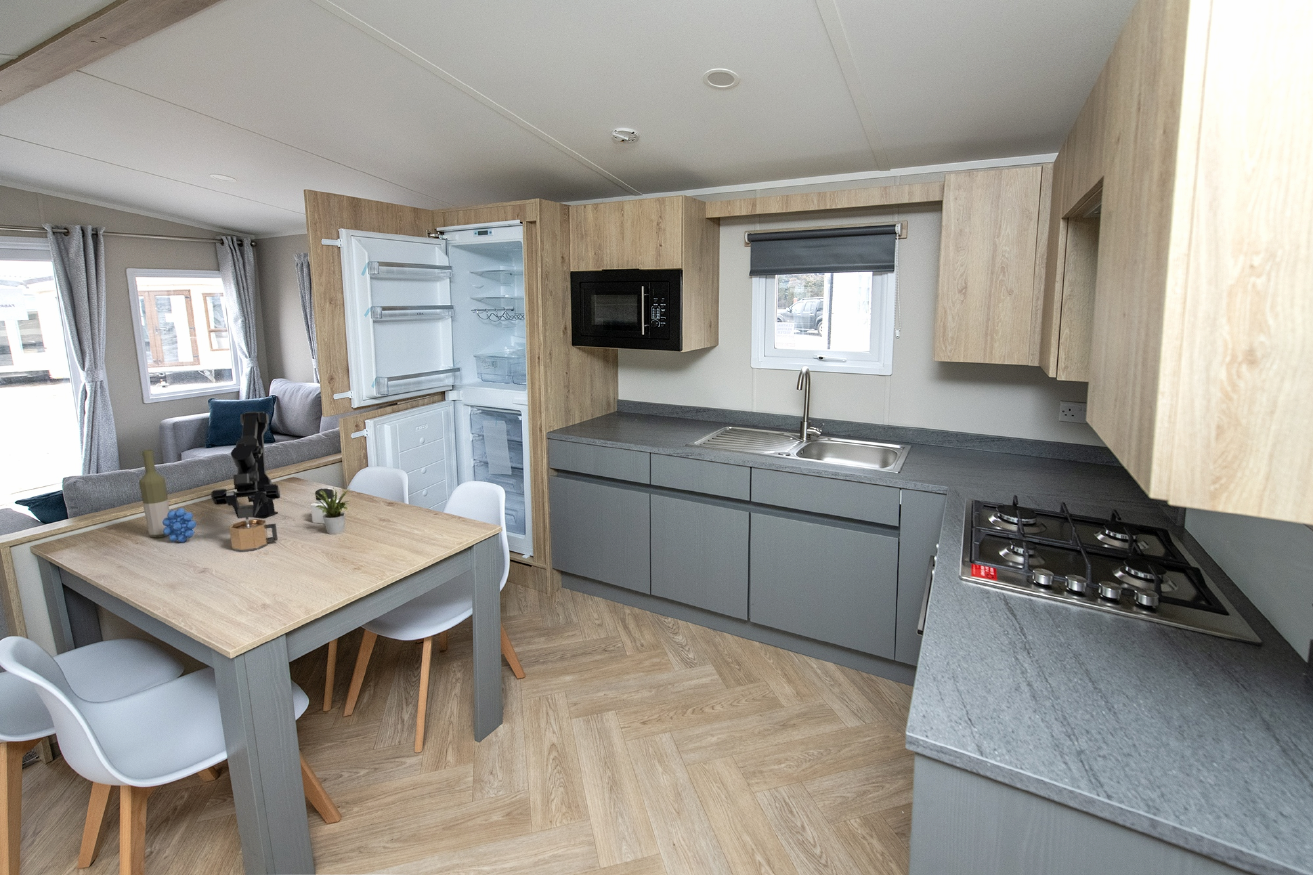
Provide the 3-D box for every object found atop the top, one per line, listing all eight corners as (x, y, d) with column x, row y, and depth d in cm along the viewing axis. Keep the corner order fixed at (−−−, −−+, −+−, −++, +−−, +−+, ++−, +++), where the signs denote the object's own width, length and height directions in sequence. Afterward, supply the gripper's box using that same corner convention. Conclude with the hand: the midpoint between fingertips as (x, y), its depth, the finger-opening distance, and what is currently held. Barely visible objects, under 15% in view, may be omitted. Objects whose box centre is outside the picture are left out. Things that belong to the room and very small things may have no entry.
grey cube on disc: (237, 527, 214) (234, 505, 212) (262, 524, 216) (259, 502, 215) (233, 534, 207) (230, 511, 206) (259, 531, 210) (256, 508, 208)
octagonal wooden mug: (236, 543, 215) (233, 521, 214) (279, 537, 220) (277, 516, 219) (230, 553, 207) (227, 531, 205) (276, 547, 212) (273, 525, 210)
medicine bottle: (329, 524, 234) (326, 492, 231) (312, 523, 235) (308, 491, 233) (342, 518, 241) (339, 487, 238) (325, 516, 242) (322, 485, 240)
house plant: (304, 541, 217) (298, 495, 214) (313, 527, 230) (308, 483, 227) (350, 537, 221) (345, 491, 217) (357, 524, 234) (353, 480, 231)
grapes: (208, 538, 220) (203, 504, 217) (192, 545, 213) (187, 511, 211) (176, 537, 221) (170, 503, 218) (159, 544, 214) (154, 510, 212)
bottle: (178, 533, 224) (164, 449, 218) (155, 540, 218) (141, 453, 212) (166, 530, 227) (152, 447, 221) (143, 537, 221) (129, 451, 214)
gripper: (208, 466, 207) (205, 508, 200) (274, 460, 215) (274, 501, 207) (216, 483, 216) (214, 525, 208) (280, 477, 223) (280, 517, 216)
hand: (246, 516), depth 210 cm, fingers closed on grey cube on disc, 4 cm apart
